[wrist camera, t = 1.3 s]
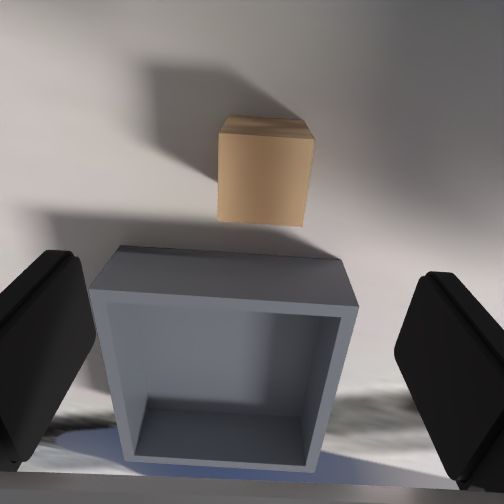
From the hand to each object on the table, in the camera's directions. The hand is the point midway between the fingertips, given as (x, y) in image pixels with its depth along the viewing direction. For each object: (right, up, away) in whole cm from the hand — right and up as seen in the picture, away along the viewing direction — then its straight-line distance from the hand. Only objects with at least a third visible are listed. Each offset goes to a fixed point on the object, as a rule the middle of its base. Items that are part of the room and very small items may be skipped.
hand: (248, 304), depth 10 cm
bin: (-2, -7, +23) cm, 25 cm away
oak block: (+1, +8, +15) cm, 17 cm away
